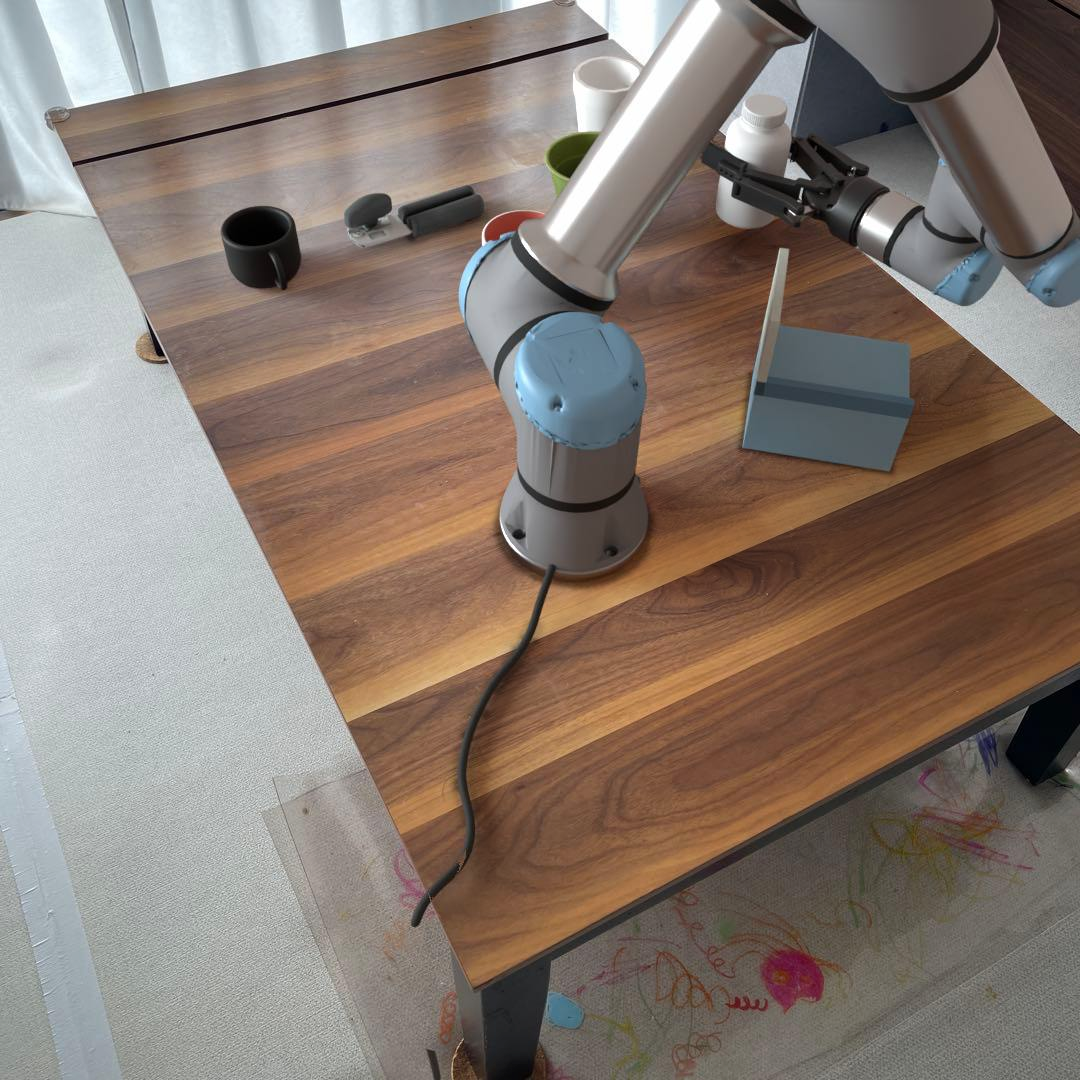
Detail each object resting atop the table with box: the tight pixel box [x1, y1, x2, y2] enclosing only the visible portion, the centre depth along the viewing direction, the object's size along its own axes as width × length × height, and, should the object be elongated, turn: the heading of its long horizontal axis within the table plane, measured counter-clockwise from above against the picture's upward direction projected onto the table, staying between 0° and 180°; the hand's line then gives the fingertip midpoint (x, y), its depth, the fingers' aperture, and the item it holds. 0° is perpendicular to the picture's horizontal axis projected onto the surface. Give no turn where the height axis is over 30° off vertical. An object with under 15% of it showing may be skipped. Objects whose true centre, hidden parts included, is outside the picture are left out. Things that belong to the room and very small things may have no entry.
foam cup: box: [572, 55, 643, 132], centre depth 153 cm, size 10×9×13 cm
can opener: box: [343, 184, 485, 250], centre depth 145 cm, size 19×5×6 cm, turn 121°
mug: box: [220, 205, 302, 291], centre depth 138 cm, size 12×9×7 cm
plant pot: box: [544, 131, 600, 198], centre depth 143 cm, size 12×12×11 cm
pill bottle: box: [715, 93, 792, 230], centre depth 139 cm, size 8×8×15 cm
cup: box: [481, 209, 547, 247], centre depth 135 cm, size 10×10×10 cm
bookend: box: [741, 247, 915, 472], centre depth 119 cm, size 12×16×18 cm
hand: (727, 139), depth 141 cm, fingers closed on pill bottle, 8 cm apart
